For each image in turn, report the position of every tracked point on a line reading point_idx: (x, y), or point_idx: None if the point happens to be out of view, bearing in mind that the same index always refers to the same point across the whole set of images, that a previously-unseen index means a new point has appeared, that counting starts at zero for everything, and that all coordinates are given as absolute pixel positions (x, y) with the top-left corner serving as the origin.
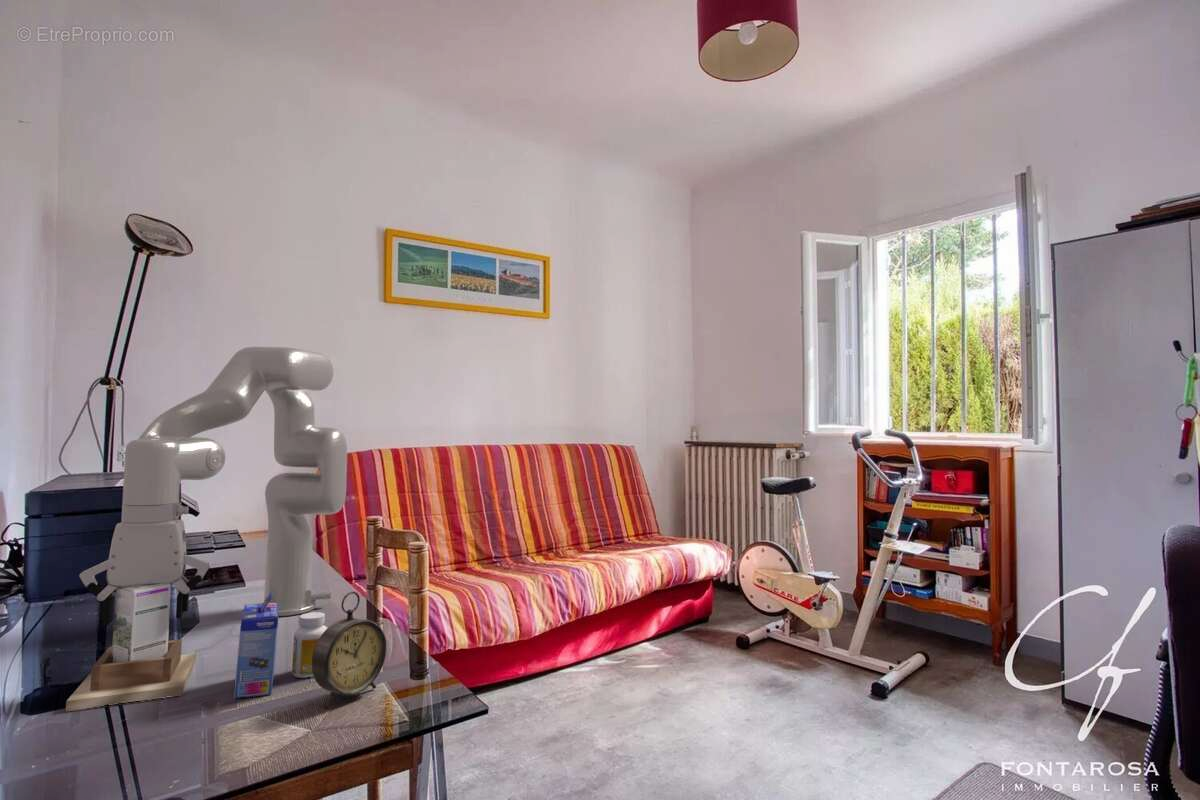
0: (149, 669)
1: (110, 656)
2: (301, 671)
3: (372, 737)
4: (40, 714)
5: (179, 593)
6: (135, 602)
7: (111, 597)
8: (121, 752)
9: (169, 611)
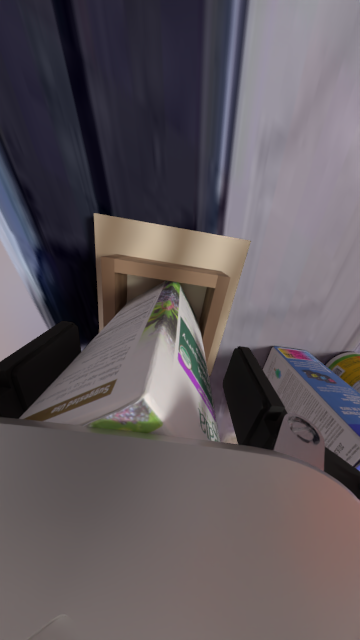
0: None
1: (116, 306)
2: None
3: None
4: (83, 349)
5: (250, 445)
6: None
7: (14, 393)
8: None
9: (211, 392)
